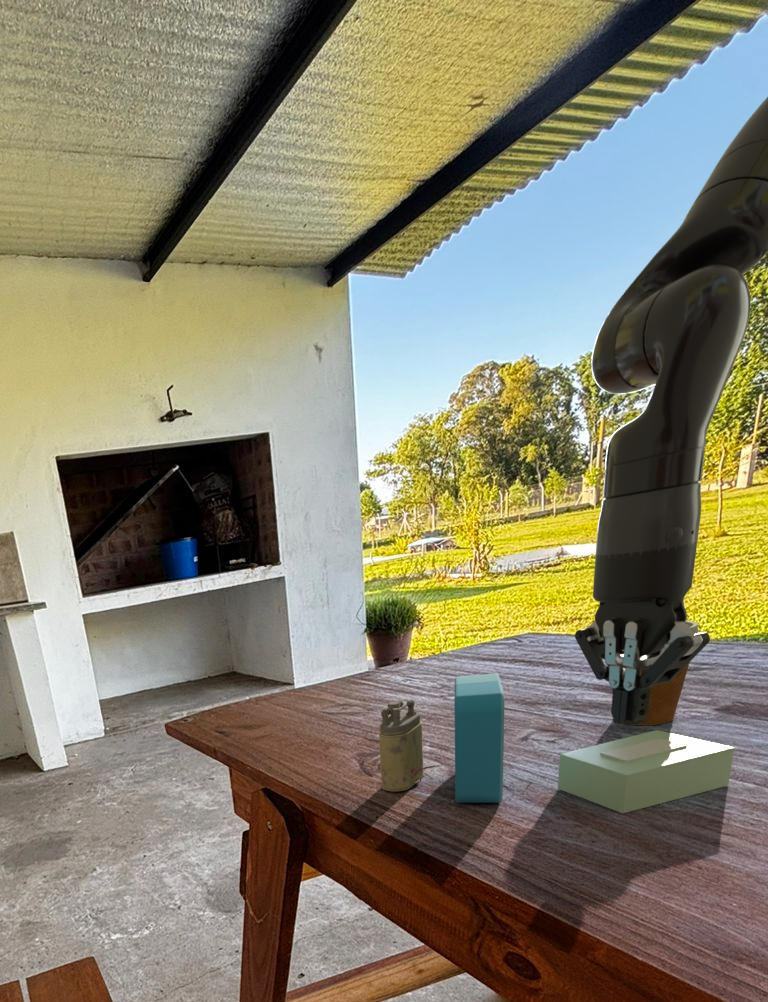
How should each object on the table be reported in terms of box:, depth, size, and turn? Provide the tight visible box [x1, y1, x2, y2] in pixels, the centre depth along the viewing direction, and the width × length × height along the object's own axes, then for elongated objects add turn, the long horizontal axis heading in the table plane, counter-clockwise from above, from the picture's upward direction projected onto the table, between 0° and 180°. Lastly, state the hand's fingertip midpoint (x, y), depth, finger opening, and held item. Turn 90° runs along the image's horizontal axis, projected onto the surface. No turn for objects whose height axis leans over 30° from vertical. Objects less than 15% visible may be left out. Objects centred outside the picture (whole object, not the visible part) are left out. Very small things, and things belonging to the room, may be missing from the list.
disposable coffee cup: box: [611, 620, 701, 726], centre depth 79 cm, size 10×10×12 cm
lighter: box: [378, 699, 425, 792], centre depth 74 cm, size 7×4×10 cm, turn 137°
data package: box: [454, 672, 505, 804], centre depth 68 cm, size 12×4×12 cm, turn 156°
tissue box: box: [557, 729, 735, 814], centre depth 63 cm, size 12×4×8 cm
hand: (627, 723), depth 63 cm, fingers closed
